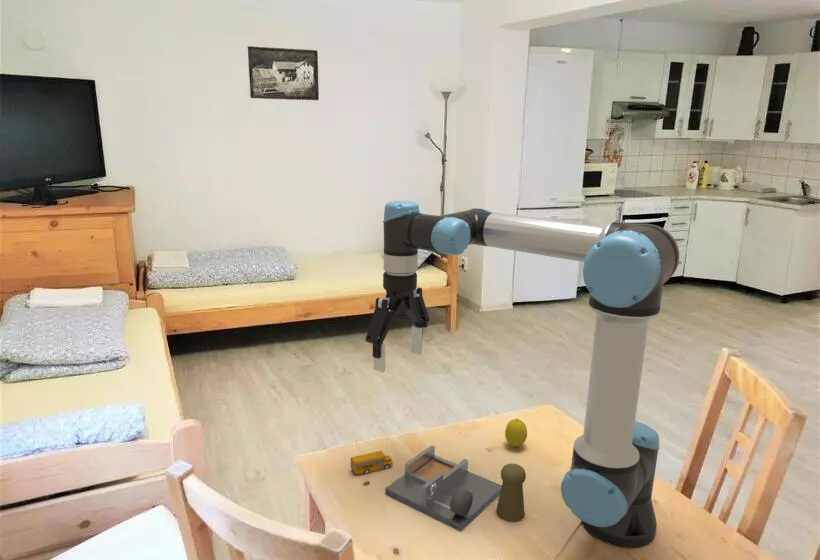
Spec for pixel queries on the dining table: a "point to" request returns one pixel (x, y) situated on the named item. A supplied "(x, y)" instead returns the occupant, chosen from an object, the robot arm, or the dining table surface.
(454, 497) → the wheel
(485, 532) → the dining table surface
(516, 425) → the lemon
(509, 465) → the olive brown pawn
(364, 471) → the toy bus
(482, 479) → the plate
